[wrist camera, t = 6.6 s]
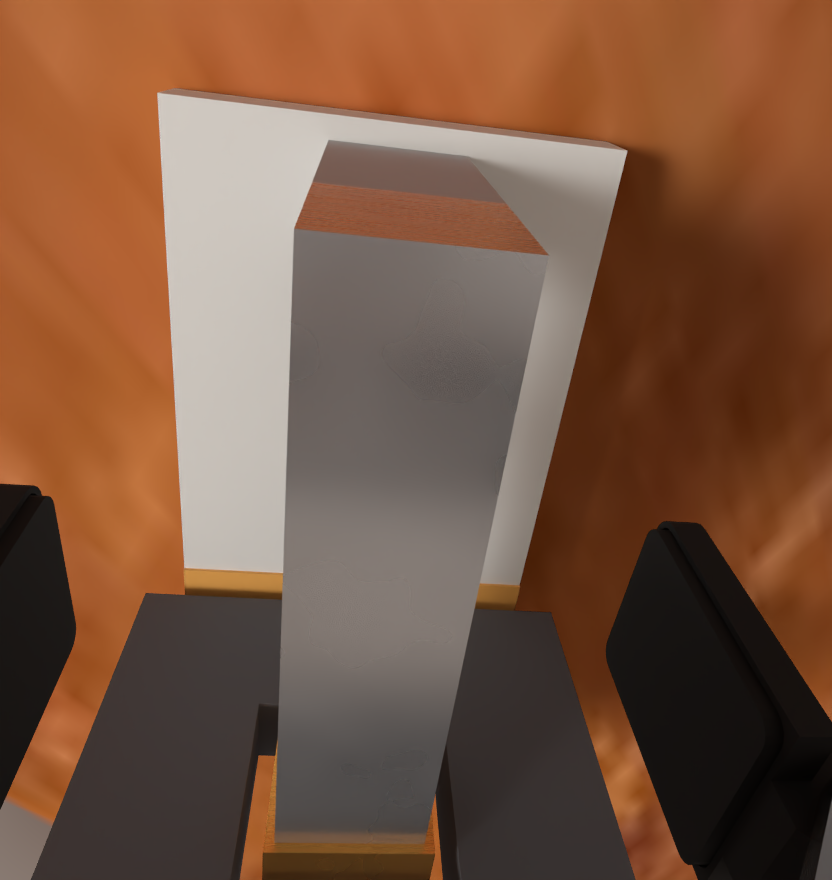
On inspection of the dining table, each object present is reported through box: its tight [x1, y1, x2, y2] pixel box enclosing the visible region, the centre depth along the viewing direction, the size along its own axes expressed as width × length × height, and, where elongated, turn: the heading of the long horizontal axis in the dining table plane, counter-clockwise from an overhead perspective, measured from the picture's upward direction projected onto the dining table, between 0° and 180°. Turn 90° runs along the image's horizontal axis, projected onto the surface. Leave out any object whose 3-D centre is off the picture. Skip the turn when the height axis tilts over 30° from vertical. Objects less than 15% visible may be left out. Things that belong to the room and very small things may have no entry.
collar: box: [31, 593, 635, 880], centre depth 16 cm, size 2×12×12 cm, turn 83°
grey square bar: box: [262, 182, 549, 880], centre depth 14 cm, size 19×3×3 cm, turn 173°
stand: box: [157, 88, 627, 611], centre depth 18 cm, size 20×10×6 cm, turn 173°
